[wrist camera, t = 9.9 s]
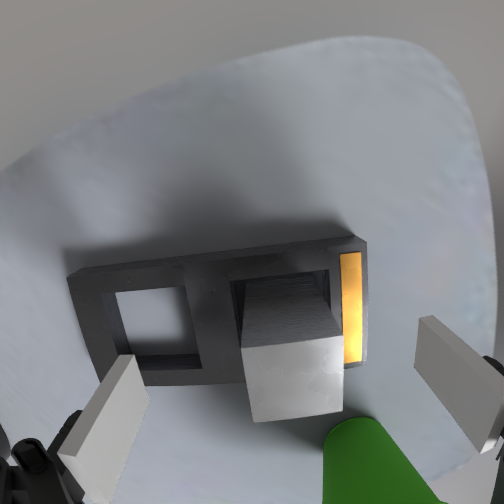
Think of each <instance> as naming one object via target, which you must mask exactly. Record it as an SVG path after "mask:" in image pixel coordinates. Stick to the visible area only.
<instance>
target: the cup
mask: <svg viewBox="0 0 504 504" xmlns="http://www.w3.org/2000/svg"><path fill="white" fill-rule="evenodd" d="M322 504H448V503H445V502H442V501H440V500H439V499H438V498H437V497H436V495H435V494H434V493H433V491H432V490H431V489H430V487H429V486H428V485H427V484H426V482H425V481H424V480H423V478H422V477H421V476H420V474H419V473H418V472H417V471H416V469H415V468H414V467H413V465H412V464H411V463H410V461H409V460H408V459H407V457H406V456H405V455H404V454H403V452H402V451H401V450H400V448H399V447H398V446H397V444H396V443H395V442H394V441H393V439H392V438H391V437H390V435H389V434H388V433H387V431H386V430H385V429H384V427H383V426H382V425H381V424H380V423H379V422H377V421H375V420H374V419H371V418H367V417H358V418H352V419H349V420H346V421H344V422H342V423H340V424H338V425H337V426H335V427H334V428H333V429H332V430H331V431H330V432H329V434H328V435H327V437H326V439H325V442H324V445H323V501H322Z"/></svg>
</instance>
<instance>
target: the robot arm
mask: <svg viewBox="0 0 504 504" xmlns="http://www.w3.org/2000/svg"><path fill="white" fill-rule="evenodd" d="M414 368H415V369H416V370H417V372H418V373H419V374H420V375H421V377H422V378H423V379H424V380H425V382H426V383H427V384H428V386H429V387H430V388H431V389H432V391H433V392H434V393H435V395H436V396H437V397H438V398H439V400H440V401H441V402H442V404H443V405H444V406H445V408H446V409H447V410H448V411H449V413H450V414H451V415H452V417H453V418H454V419H455V421H456V422H457V423H458V425H459V426H460V427H461V429H462V430H463V432H464V433H465V434H466V436H467V437H468V438H469V440H470V441H471V442H472V444H473V445H474V447H475V448H476V449H477V451H478V452H479V453H480V454H481V453H483V452H485V451H487V450H489V449H491V448H493V447H495V446H496V444H497V441H498V439H499V437H500V435H501V436H502V438H503V439H504V367H503V365H502V364H500V363H499V362H498V361H497V360H495V359H493V358H491V357H488V356H483V357H481V356H480V355H479V354H478V353H477V352H476V351H474V350H473V349H472V348H471V347H470V346H469V345H468V344H466V343H465V342H464V341H463V340H462V339H461V338H459V337H458V336H457V335H456V334H455V333H454V332H452V331H451V330H450V329H449V328H448V327H446V326H445V325H444V324H443V323H442V322H440V321H439V320H438V319H437V318H436V317H434V316H433V315H430V316H426V317H422V318H419V326H418V336H417V346H416V354H415V362H414ZM149 403H150V400H149V397H148V394H147V392H146V389H145V386H144V383H143V380H142V377H141V374H140V371H139V368H138V365H137V362H136V359H135V355H119V357H118V358H117V360H116V361H115V363H114V364H113V366H112V367H111V369H110V370H109V372H108V373H107V375H106V376H105V378H104V379H103V381H102V382H101V384H100V385H99V387H98V388H97V390H96V391H95V393H94V395H93V396H92V398H91V399H90V401H89V402H88V404H87V405H86V407H85V409H84V410H77V411H76V412H74V413H73V414H72V415H71V416H69V417H68V419H67V420H66V422H65V423H64V425H63V427H62V428H61V429H60V431H59V433H58V434H57V436H56V437H55V439H54V440H53V442H52V443H51V445H50V446H49V448H48V450H47V451H46V450H45V448H44V447H43V445H42V444H41V442H40V441H39V440H37V439H35V438H27V439H23V440H21V441H19V442H18V443H17V444H15V445H14V447H13V448H12V450H11V449H10V445H9V442H8V439H7V437H6V435H5V433H4V431H3V429H2V427H1V426H0V504H85V503H84V502H83V501H82V499H83V497H84V494H86V495H87V496H88V498H89V499H90V500H91V501H92V502H95V503H100V504H111V501H112V498H113V496H114V493H115V490H116V487H117V485H118V482H119V479H120V477H121V474H122V471H123V469H124V466H125V464H126V461H127V458H128V456H129V453H130V451H131V448H132V445H133V443H134V440H135V438H136V435H137V433H138V430H139V428H140V425H141V423H142V420H143V418H144V415H145V413H146V410H147V408H148V405H149ZM10 454H11V456H12V457H13V459H14V460H15V462H16V463H17V464H18V466H9V464H8V463H7V461H6V460H7V459H8V457H9V456H10ZM499 457H500V462H499V468H498V473H497V478H496V483H495V488H494V491H493V496H492V500H491V503H490V504H504V443H503V445H502V448H501V449H500V451H499V454H498V455H497V458H496V460H498V459H499Z"/></svg>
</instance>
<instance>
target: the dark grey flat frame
mask: <svg viewBox="0 0 504 504" xmlns="http://www.w3.org/2000/svg"><path fill="white" fill-rule="evenodd" d="M317 270H323V281H324V298H325V301H326V303H327V305H328V307H329V309H330V311H331V313H332V314H333V316H334V318H335V320H336V322H337V324H338V326H339V328H340V329H341V331H342V333H343V335H344V369H348V368H353V367H359V366H364V365H366V364H367V339H368V266H367V242H366V241H364V240H362V239H361V238H359V237H358V236H348V237H340V238H331V239H323V240H314V241H306V242H297V243H289V244H280V245H272V246H263V247H255V248H247V249H238V250H230V251H222V252H213V253H205V254H197V255H189V256H180V257H172V258H164V259H156V260H148V261H139V262H131V263H123V264H115V265H107V266H99V267H91V268H83V269H80V270H78V271H76V272H75V273H73V274H71V275H69V276H68V277H66V278H67V282H68V286H69V289H70V293H71V297H72V301H73V304H74V308H75V311H76V314H77V318H78V321H79V324H80V328H81V331H82V334H83V337H84V340H85V343H86V346H87V349H88V352H89V354H90V357H91V360H92V363H93V365H94V368H95V371H96V373H97V376H98V379H99V381H100V384H101V382H102V381H103V379H104V378H105V376H106V375H107V373H108V372H109V370H110V369H111V367H112V366H113V364H114V363H115V361H116V360H117V358H118V357H119V355H132V353H131V349H130V346H129V343H128V339H127V336H126V333H125V329H124V326H123V322H122V318H121V315H120V311H119V307H118V303H117V299H116V295H115V292H125V291H136V290H147V289H157V288H167V287H177V286H185V288H186V294H187V299H188V304H189V309H190V314H191V319H192V323H193V328H194V333H195V337H196V342H197V346H198V351H199V353H197V354H179V355H156V356H135V359H136V362H137V365H138V368H139V371H140V374H141V377H142V380H143V383H144V386H185V385H209V384H225V383H239V382H246V377H245V371H244V365H243V359H242V353H241V339H242V335H241V329H240V322H239V316H238V309H237V303H236V296H235V289H234V283H233V281H234V280H242V279H251V278H260V277H268V276H277V275H285V274H293V273H301V272H309V271H317Z"/></svg>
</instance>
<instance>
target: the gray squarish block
mask: <svg viewBox="0 0 504 504" xmlns="http://www.w3.org/2000/svg"><path fill="white" fill-rule="evenodd" d="M241 353H242V359H243V365H244V371H245V377H246V383H247V389H248V394H249V400H250V406H251V412H252V417H253V423H255V422H267V421H276V420H285V419H294V418H301V417H308V416H315V415H322V414H328V413H334V412H339V411H343V373H344V335H343V333H342V331H341V329H340V328H339V326H338V324H337V322H336V320H335V318H334V316H333V314H332V313H331V311H330V309H329V307H328V305H327V303H326V301H325V300H324V298H323V296H322V294H321V292H320V290H319V288H318V287H317V285H316V283H315V281H314V279H313V278H312V276H311V275H309V276H301V277H293V278H285V279H277V280H269V281H260V282H252V283H246V292H245V304H244V316H243V327H242V339H241Z"/></svg>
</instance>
